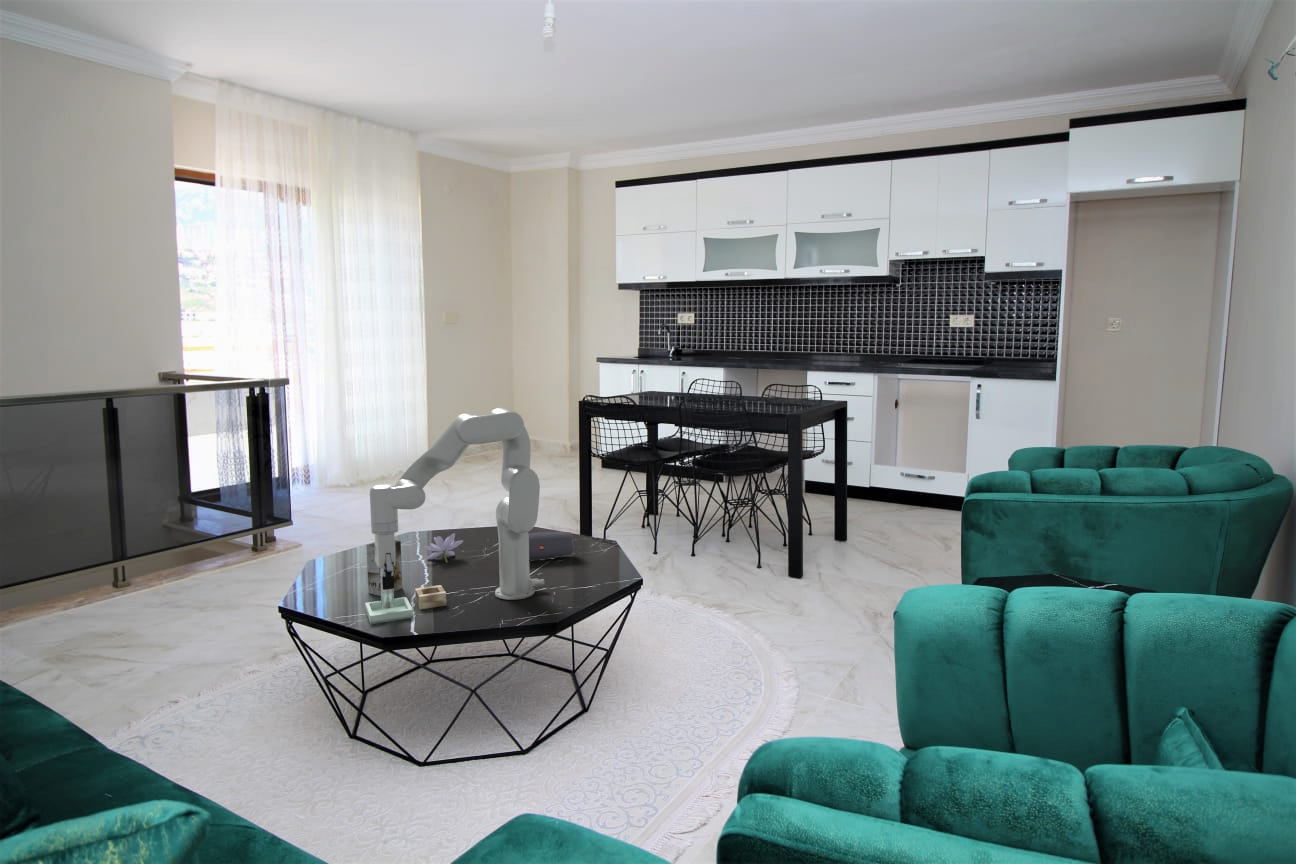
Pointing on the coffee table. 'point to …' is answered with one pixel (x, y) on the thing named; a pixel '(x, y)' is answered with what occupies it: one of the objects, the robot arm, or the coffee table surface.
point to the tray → (389, 611)
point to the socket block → (430, 597)
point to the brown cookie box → (374, 570)
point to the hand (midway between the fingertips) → (387, 586)
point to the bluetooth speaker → (549, 545)
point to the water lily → (443, 546)
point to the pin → (386, 594)
